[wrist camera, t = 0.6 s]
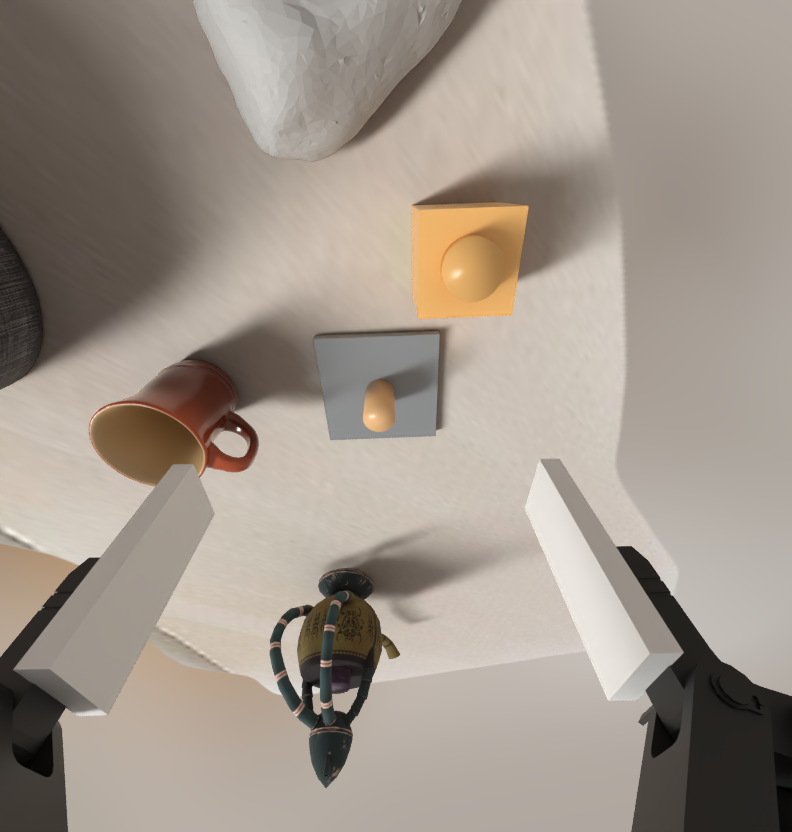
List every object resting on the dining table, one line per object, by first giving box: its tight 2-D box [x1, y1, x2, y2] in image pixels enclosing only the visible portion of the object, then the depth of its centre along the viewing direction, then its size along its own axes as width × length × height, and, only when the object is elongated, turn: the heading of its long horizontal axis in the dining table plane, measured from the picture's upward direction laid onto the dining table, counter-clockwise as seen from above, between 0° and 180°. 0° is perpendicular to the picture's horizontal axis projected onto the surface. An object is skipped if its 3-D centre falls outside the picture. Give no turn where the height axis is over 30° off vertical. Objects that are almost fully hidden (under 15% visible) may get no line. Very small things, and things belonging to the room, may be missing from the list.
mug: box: [89, 360, 259, 486], centre depth 33 cm, size 12×9×10 cm
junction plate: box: [313, 331, 440, 440], centre depth 34 cm, size 12×12×6 cm
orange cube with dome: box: [412, 202, 529, 319], centre depth 26 cm, size 7×7×9 cm
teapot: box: [270, 569, 400, 788], centre depth 49 cm, size 12×25×23 cm, turn 30°
